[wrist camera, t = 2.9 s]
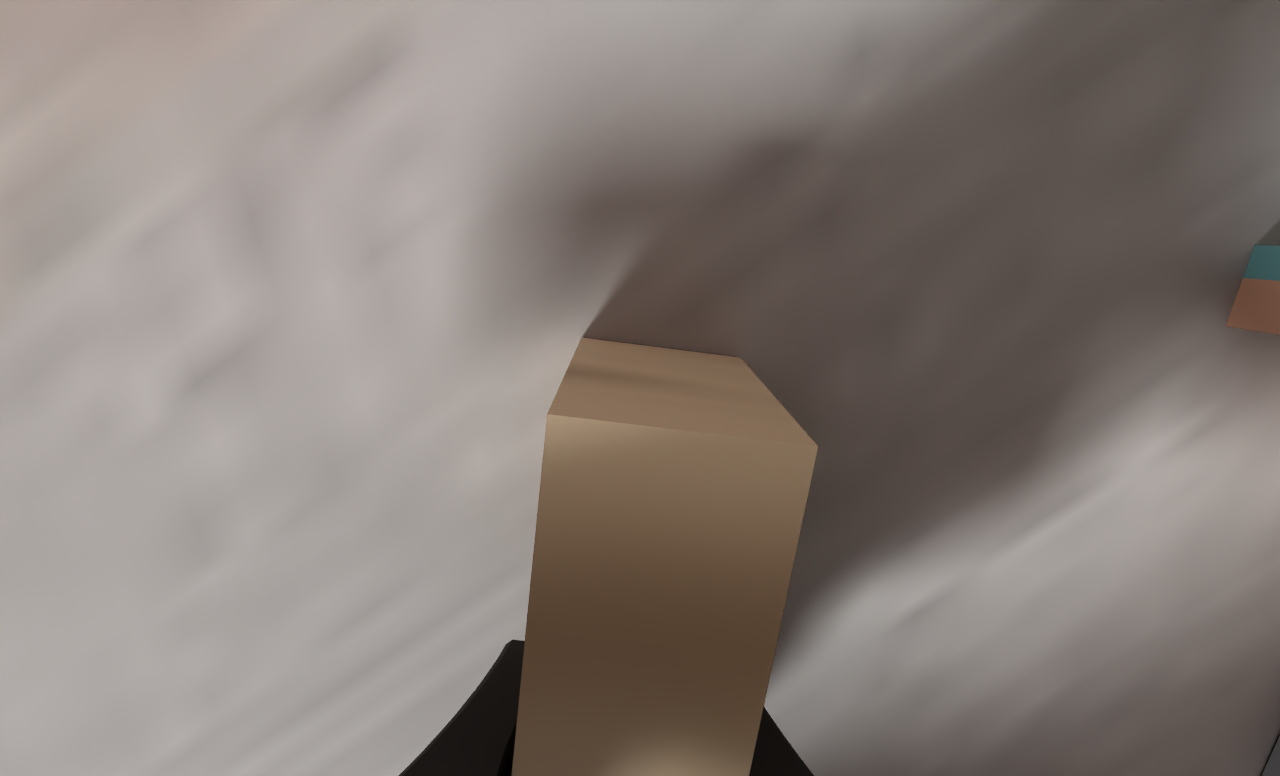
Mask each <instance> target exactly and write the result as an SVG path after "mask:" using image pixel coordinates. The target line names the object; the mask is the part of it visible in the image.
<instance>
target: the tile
mask: <svg viewBox="0 0 1280 776" xmlns="http://www.w3.org/2000/svg"><path fill="white" fill-rule="evenodd" d="M1226 326H1229V327H1235V328H1241V329H1247V330H1254V331H1260V332H1266V333H1272V334H1278V335H1280V246H1271V245H1255V246H1254V248H1253V251H1252V254H1251V257H1250V260H1249V262H1248V265H1247V268H1246V271H1245V273H1244V276H1243V279H1242V282H1241V285H1240V287H1239V290H1238V293H1237V296H1236V299H1235V301H1234V304H1233V307H1232V310H1231V312H1230V315H1229V318H1228V321H1227V324H1226Z"/></svg>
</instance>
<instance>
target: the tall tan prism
mask: <svg viewBox="0 0 1280 776" xmlns="http://www.w3.org/2000/svg"><path fill="white" fill-rule="evenodd" d="M817 450H818V446H817V445H816V443H815V442H814V441H813V440H812V439H811V438H810V437H809V435H808V434H807V433H806V432H805V431H804V430H803V429H802V427H801V426H800V425H799V424H798V423H797V422H796V421H795V419H794V418H793V417H792V416H791V415H790V414H789V412H788V411H787V410H786V409H785V408H784V407H783V406H782V404H781V403H780V402H779V401H778V400H777V399H776V398H775V396H774V395H773V394H772V393H771V392H770V391H769V390H768V388H767V387H766V386H765V385H764V384H763V383H762V382H761V380H760V379H759V378H758V377H757V376H756V375H755V374H754V372H753V371H752V370H751V369H750V368H749V367H748V365H747V364H746V363H745V362H744V361H743V360H742V359H741V358H740V357H732V356H724V355H716V354H708V353H700V352H692V351H685V350H677V349H669V348H661V347H653V346H645V345H637V344H629V343H621V342H613V341H605V340H597V339H589V338H581V340H580V342H579V344H578V347H577V349H576V351H575V353H574V356H573V358H572V360H571V362H570V365H569V367H568V369H567V371H566V373H565V376H564V378H563V380H562V382H561V385H560V387H559V389H558V391H557V394H556V396H555V398H554V400H553V402H552V405H551V407H550V409H549V411H548V414H547V422H546V432H545V442H544V453H543V463H542V473H541V483H540V493H539V503H538V513H537V523H536V533H535V544H534V554H533V564H532V574H531V584H530V594H529V604H528V614H527V625H526V635H525V645H524V655H523V665H522V675H521V685H520V695H519V706H518V716H517V726H516V736H515V746H514V756H513V766H512V776H749V773H750V768H751V764H752V759H753V754H754V749H755V745H756V740H757V735H758V730H759V726H760V721H761V716H762V711H763V707H764V702H765V697H766V692H767V688H768V683H769V678H770V673H771V669H772V664H773V659H774V654H775V650H776V645H777V640H778V635H779V631H780V626H781V621H782V616H783V612H784V607H785V602H786V597H787V593H788V588H789V583H790V578H791V574H792V569H793V564H794V559H795V555H796V550H797V545H798V540H799V536H800V531H801V526H802V521H803V517H804V512H805V507H806V502H807V498H808V493H809V488H810V483H811V479H812V474H813V469H814V464H815V460H816V455H817Z"/></svg>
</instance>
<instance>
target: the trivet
mask: <svg viewBox="0 0 1280 776" xmlns="http://www.w3.org/2000/svg"><path fill="white" fill-rule="evenodd" d="M1262 776H1280V736H1279V738H1278V741H1277V743H1276V745H1275V747H1274V749H1273V752H1272V754H1271V756H1270V758H1269V761H1268V763H1267V765H1266V767H1265V769H1264V772H1263V774H1262Z"/></svg>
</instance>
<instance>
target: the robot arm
mask: <svg viewBox="0 0 1280 776" xmlns="http://www.w3.org/2000/svg"><path fill="white" fill-rule="evenodd" d="M524 645H525V641H519V640H511V641H510V642H509V643H507V644H506V645H505V647H504V649H503V651H502V652H501V654H500V655H499V657H498V659H497V660H496V662H495V663H494V665H493V666H492V668H491V669H490V671H489V672H488V673H487V675H486V676H485V678H484V679H483V680H482V682H481V683H480V684H479V686H478V687H477V688H476V690H475V691H474V692H473V693H472V695H471V696H470V697H469V698H468V700H467V701H466V702H465V704H464V705H463V706H462V707H461V709H460V710H459V711H458V712H457V714H456V715H455V716H454V717H453V718H452V719H451V721H450V722H449V723H448V724H447V725H446V726H445V727H444V728H443V730H442V731H441V732H440V733H439V734H438V735H437V736H436V737H435V738H434V740H433V741H432V742H431V743H430V744H429V745H428V746H427V747H426V748H425V750H424V751H423V752H422V753H421V754H420V755H419V756H418V757H417V758H416V759H415V760H414V761H413V762H412V763H411V764H410V765H409V766H408V767H407V768H406V769H405V770H404V771H403V772H402V773H401V774H400V775H399V776H512V766H513V756H514V746H515V736H516V726H517V716H518V706H519V695H520V685H521V675H522V665H523V655H524ZM749 776H814V775H813V774H812V773H811V771H810V770H809V769H808V767H807V766H806V765H805V763H804V762H803V761H802V760H801V758H800V757H799V756H798V754H797V753H796V751H795V750H794V749H793V747H792V746H791V745H790V743H789V742H788V740H787V739H786V738H785V736H784V735H783V734H782V732H781V731H780V729H779V728H778V727H777V725H776V724H775V722H774V721H773V719H772V718H771V716H770V715H769V713H768V712H767V710H766V709H765V707H763V711H762V716H761V721H760V726H759V730H758V735H757V740H756V745H755V749H754V754H753V759H752V764H751V768H750V773H749Z"/></svg>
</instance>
